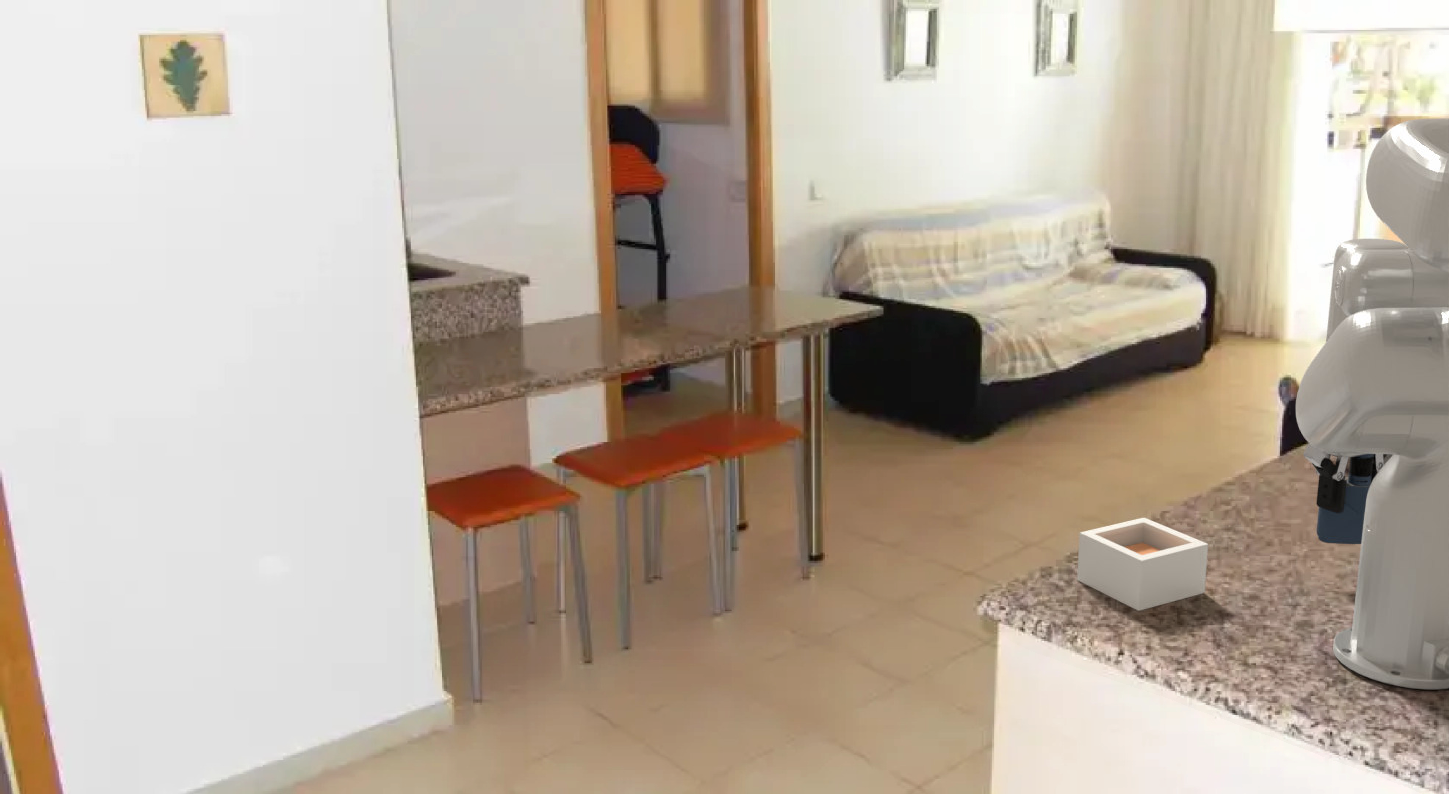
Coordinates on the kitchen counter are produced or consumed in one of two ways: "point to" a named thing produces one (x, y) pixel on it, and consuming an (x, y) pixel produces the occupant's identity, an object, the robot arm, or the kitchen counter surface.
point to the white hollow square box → (1142, 563)
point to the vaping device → (1348, 506)
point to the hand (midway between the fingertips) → (1345, 503)
